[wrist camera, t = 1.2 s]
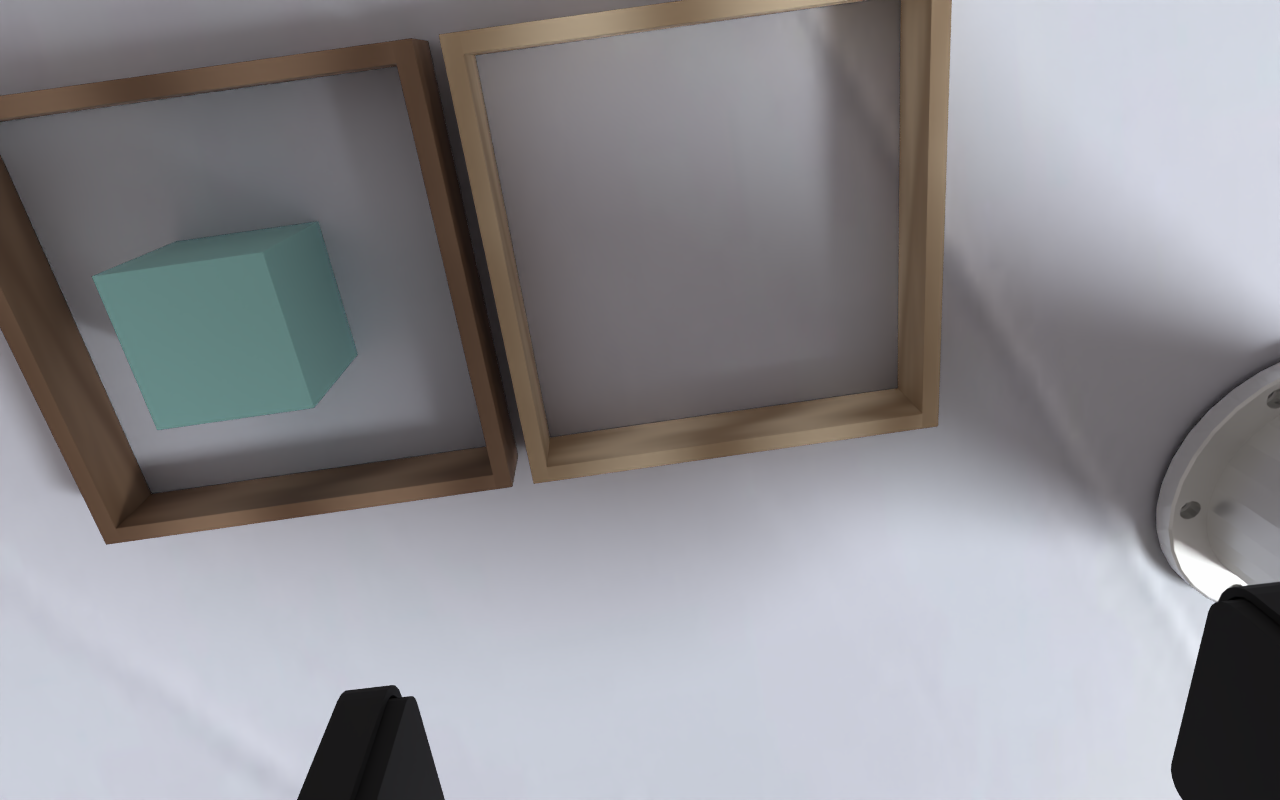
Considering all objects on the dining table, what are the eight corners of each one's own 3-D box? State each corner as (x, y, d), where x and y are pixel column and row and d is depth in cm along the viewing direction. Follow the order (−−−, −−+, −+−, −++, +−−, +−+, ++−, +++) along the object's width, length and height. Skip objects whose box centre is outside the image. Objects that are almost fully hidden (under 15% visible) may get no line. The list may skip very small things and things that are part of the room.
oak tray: (919, -28, 25) (953, -38, 22) (912, 399, 31) (938, 426, 29) (452, 37, 25) (438, 34, 22) (537, 452, 31) (533, 483, 29)
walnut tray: (427, 40, 25) (411, 38, 22) (518, 455, 31) (512, 486, 29) (-41, 106, 25) (-106, 110, 22) (142, 509, 31) (106, 544, 28)
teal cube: (319, 221, 27) (262, 252, 22) (358, 353, 29) (314, 407, 24) (177, 241, 27) (91, 276, 22) (226, 372, 29) (157, 430, 24)
